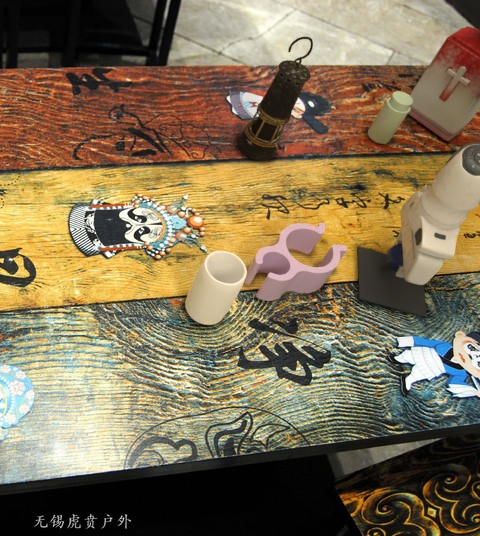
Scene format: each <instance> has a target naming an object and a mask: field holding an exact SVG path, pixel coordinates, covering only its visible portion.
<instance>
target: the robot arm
mask: <svg viewBox="0 0 480 536" xmlns="http://www.w3.org/2000/svg"><path fill="white" fill-rule="evenodd" d="M479 205H480V141H473V142H469V143H466V144H464V145H461V147H459V148H458V149H456V151H455V152H454V153H453V154H452V155H451V156H450V157H449V158H448V160H446V162H445V163H444V165H443V166H442V169H440V170H439V172H438V174H437V175H435V177H434V178H433V180H432V183H431V184H425V185H424V186H422V188H421V189H420V190H417V191H415V192H413V193H412V195H410V197H408V199H406V201H405V202H404V203H403V204H402V206H401V208H400V211H399V213H400V230H399V233H398V236H397V238H396V239H395V241H394V242H393V246H394V245H396V244H402V248H403V266H400V265H399V266H398V267H397V269H396V276H397V277H401V278H404V279H405V281H407V282H410V283H413V284H417V285H424V286H425V285H426V284H427V283H428V282H430V281H431V279H432V278H433V277H434V276H435V275H436V274H437V273H438V272H439V270H441V268H442V266H443V265H444V263H445V260H451V259H452V258H453V257H454V255H455V253H456V246H457V240H458V237H459V233H460V230H461V226H462V224H463V223H464V222H465V220H466V219H467V217H468V215H469V213H470V212H471V211H473V210H475V209H476V208H477V207H478V206H479Z"/></svg>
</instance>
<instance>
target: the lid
mask: <svg viewBox="0 0 480 536" xmlns="http://www.w3.org/2000/svg"><path fill="white" fill-rule="evenodd" d="M385 254H386V255H385V261H386V263H387V265H388V267H389V268H390V269H391V270H393V271H394V272H396V269H397V267H398V266H399V265H400V266H403V248H402V244H396V245H394V244H393V245H392V246H391V247H390V248H389V249H388V250H387V251H386V253H385Z"/></svg>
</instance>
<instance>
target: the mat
mask: <svg viewBox="0 0 480 536" xmlns="http://www.w3.org/2000/svg"><path fill="white" fill-rule="evenodd" d="M385 255H386V253H385V252H380V251H377V250H373V249H369V248H366V247H362V246H357V289H358V290H357V291H358V300H359V301H364V302H367V303H371V304H375V305H378V306H382V307H386V308H390V309H393V310H397V311H401V312H405V313H409V314H412V315H415V316H420V317H423V318H426V317H427V306H426V295H425V294H426V293H425V284H424V285H417V284H413V283H410V282H407V281H405V279H404V278H401V277H397V276H396V272H394V271H393V270H391V269H390V268H389V267H388V265H387V263H386V261H385Z"/></svg>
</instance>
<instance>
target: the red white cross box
mask: <svg viewBox="0 0 480 536" xmlns="http://www.w3.org/2000/svg"><path fill="white" fill-rule="evenodd" d="M409 95H410V96H411V98H412V99H413V103H412V104H411V106H410V107H411V109H410V111H409V113H408V114H407V116H408V115H409V117H411V118H412V119H414V120H415V121H417V122H418V123H420V124H421V125H423V126H424V128H427V129H428V130H429V131H431V132H432V133H433V134H434V135H436V136H438V137H439V138H441V139H442V140H443V141H445V142H449V141H452V140H453V139H454V138H455V137H457V136H458V135H459V134H460V133H462V132H463V131H464V129H465V126H467V125H468V124H469V123H470V122H471V121H472V119H474V117H475V116H476V115H477V113H478V112H479V110H480V29H478V28H475V27H471V26H465V27H461V28H460V29H458V30H457V31H455V32H454V33H452V34H451V35H448V36H447V37H446V39H445V40H444V42H443V43H442V45H441V47H440V48H439V49H438V50H437V52H436V54H435V55H434V57H433V59H432V60H431V61H430V63H429V65H428V66H427V67H426V69H425V71H424V72H423V73H422V76H421V77H420V78H419V80H418V82H417V83H416V85H415V86H414V88H413V89H412V91H411V92H410V93H409Z"/></svg>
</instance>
